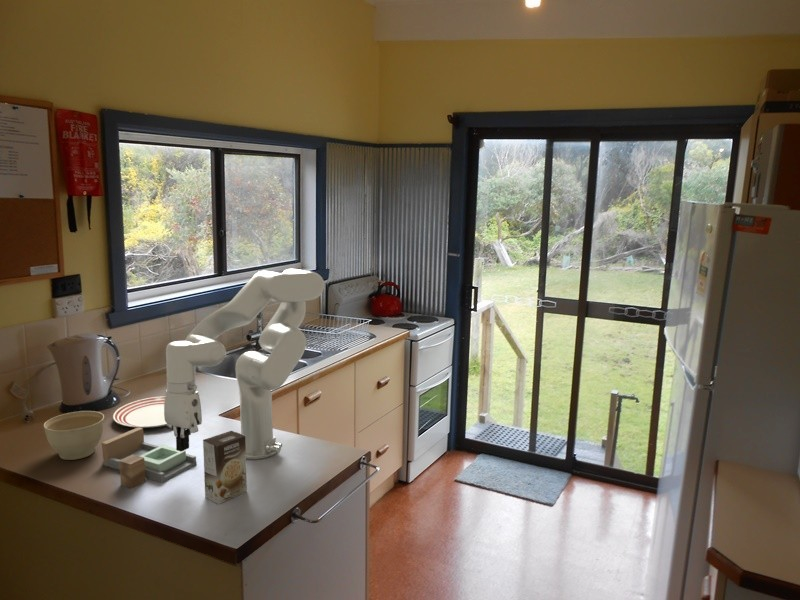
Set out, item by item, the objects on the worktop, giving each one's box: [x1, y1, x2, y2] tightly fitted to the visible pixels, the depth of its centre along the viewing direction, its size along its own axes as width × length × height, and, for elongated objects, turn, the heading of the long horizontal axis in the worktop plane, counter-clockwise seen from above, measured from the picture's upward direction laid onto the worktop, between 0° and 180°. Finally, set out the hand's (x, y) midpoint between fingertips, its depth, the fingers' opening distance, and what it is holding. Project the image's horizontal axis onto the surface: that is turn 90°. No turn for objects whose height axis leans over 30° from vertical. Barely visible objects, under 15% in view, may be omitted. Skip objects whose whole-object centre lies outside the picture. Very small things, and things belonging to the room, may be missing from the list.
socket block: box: [140, 444, 187, 473], centre depth 178 cm, size 9×10×3 cm
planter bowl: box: [43, 410, 105, 461], centre depth 186 cm, size 16×16×11 cm
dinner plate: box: [112, 395, 167, 429], centre depth 216 cm, size 28×27×3 cm
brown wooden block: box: [119, 455, 147, 489], centre depth 169 cm, size 4×4×7 cm
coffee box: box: [202, 430, 248, 505], centre depth 162 cm, size 9×6×16 cm
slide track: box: [101, 427, 197, 484], centre depth 180 cm, size 24×13×7 cm, turn 64°
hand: (182, 449), depth 172 cm, fingers closed
